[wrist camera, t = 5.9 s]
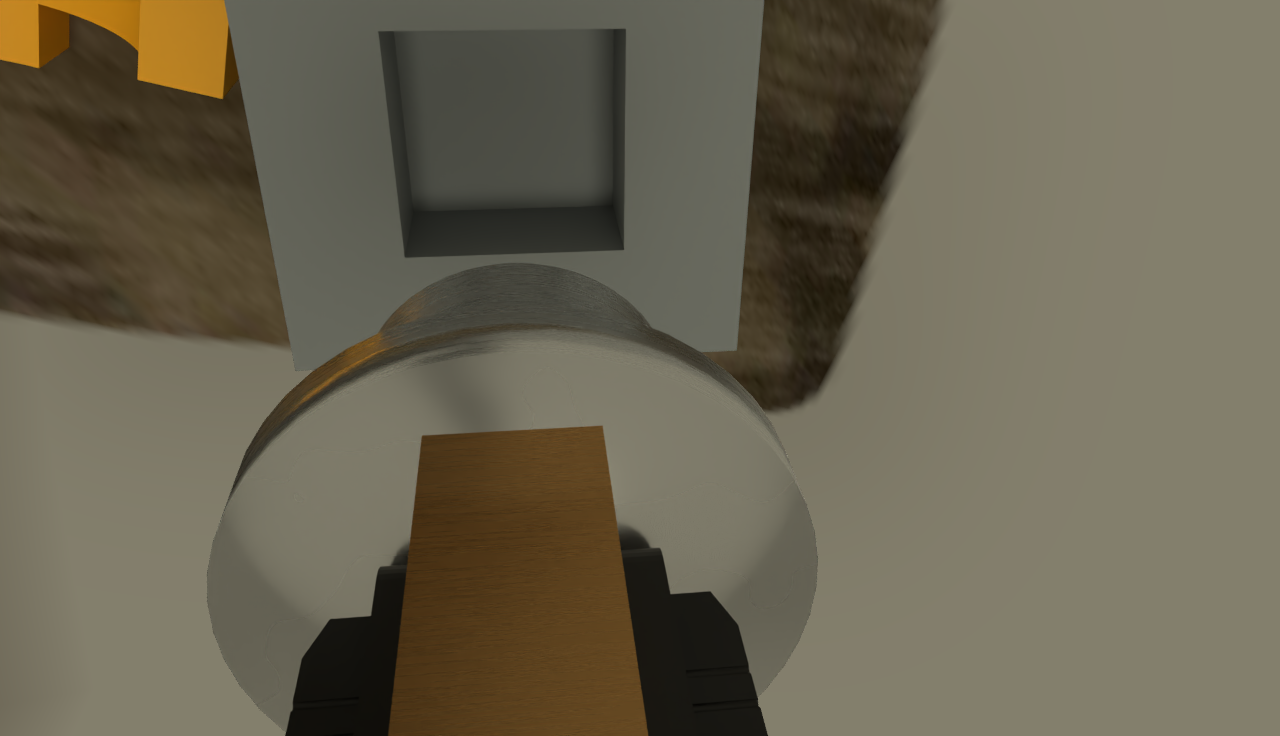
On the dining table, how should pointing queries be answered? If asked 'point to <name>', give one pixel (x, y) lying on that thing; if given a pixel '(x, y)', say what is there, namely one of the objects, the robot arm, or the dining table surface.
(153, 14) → the pipe clamp
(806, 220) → the dining table surface
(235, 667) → the end cover
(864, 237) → the dining table surface
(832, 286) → the dining table surface
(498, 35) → the bearing housing
